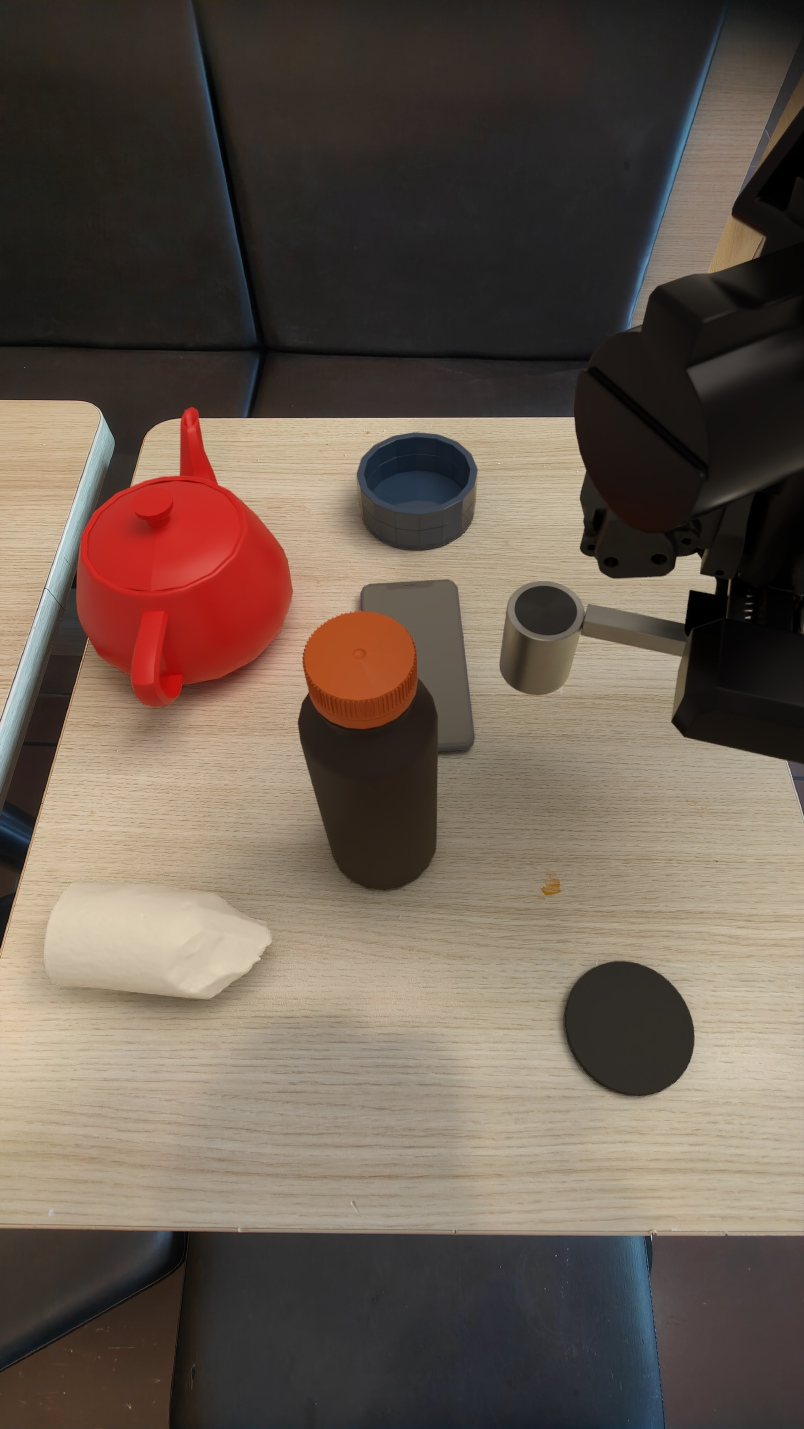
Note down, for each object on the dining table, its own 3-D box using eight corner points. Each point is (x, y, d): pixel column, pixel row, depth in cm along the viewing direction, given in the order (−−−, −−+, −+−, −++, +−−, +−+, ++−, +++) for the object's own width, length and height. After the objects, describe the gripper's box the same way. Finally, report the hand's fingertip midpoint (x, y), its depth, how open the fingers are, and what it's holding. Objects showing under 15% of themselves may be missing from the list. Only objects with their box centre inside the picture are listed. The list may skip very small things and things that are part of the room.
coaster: (662, 951, 46) (664, 948, 45) (713, 1078, 42) (716, 1077, 42) (547, 978, 45) (548, 976, 45) (589, 1110, 42) (591, 1109, 41)
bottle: (456, 827, 50) (469, 634, 34) (397, 913, 48) (379, 749, 31) (371, 777, 53) (342, 571, 36) (309, 856, 50) (246, 673, 33)
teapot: (287, 750, 54) (254, 642, 44) (64, 754, 54) (-21, 648, 44) (309, 498, 67) (288, 370, 57) (130, 503, 68) (77, 376, 57)
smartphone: (364, 752, 53) (359, 582, 60) (365, 759, 53) (360, 590, 61) (476, 745, 53) (457, 576, 60) (475, 752, 53) (456, 585, 61)
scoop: (773, 689, 43) (815, 627, 39) (769, 750, 41) (813, 692, 37) (507, 632, 46) (516, 567, 41) (492, 686, 44) (499, 625, 39)
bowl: (458, 462, 69) (459, 424, 66) (488, 538, 64) (491, 501, 61) (351, 481, 68) (347, 443, 65) (373, 559, 63) (370, 523, 60)
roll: (271, 1015, 45) (252, 992, 40) (69, 995, 46) (27, 970, 41) (290, 912, 48) (274, 880, 43) (100, 896, 49) (65, 862, 44)
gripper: (650, 248, 34) (588, 520, 47) (574, 557, 24) (522, 789, 37) (930, 282, 32) (782, 556, 45) (967, 633, 22) (766, 850, 35)
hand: (713, 672), depth 41 cm, fingers closed on scoop
